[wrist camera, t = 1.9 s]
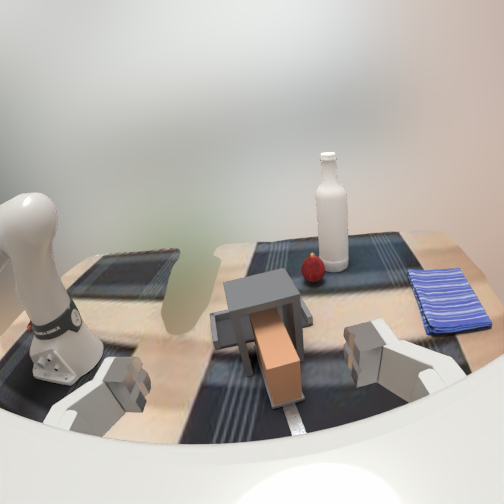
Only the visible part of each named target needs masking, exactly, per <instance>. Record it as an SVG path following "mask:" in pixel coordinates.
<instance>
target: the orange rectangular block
mask: <svg viewBox="0 0 504 504" xmlns="http://www.w3.org/2000/svg"><path fill="white" fill-rule="evenodd" d="M249 317H250V322H251V326H252V331H253V335H254V340H255V345H256V346H254V349H255V352H256V356H257V359H258V362H259V366H260V369H261V372H262V376H263V379H264V383H265V386H266V389H267V392H268V396H269V399H270V402H271V406H272V409H275V408H279V407H282V406H286V405H289V404H293V403H296V402H299V401H303V400H305V398H304V395H303V393H302V387H301V368H300V359H299V357H298V355H297V353H296V350H295V348H294V346H293V344H292V341H291V339H290V337H289V335H288V333H287V330H286V328H285V326H284V324H283V321H282V319H281V317H280V315H279V313H278V310H277V308H276V307H274V308H270V309H266V310H262V311H258V312H254V313H250V314H249Z"/></svg>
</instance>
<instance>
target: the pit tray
mask: <svg viewBox="0 0 504 504" xmlns="http://www.w3.org/2000/svg"><path fill="white" fill-rule="evenodd" d="M300 301H301V315H302V328H304V327H308V326H311V325H313V319H312V315H311V313H310V311H309V310H308V308H307V306H306V305H305V303H304V301H303V300H302V298H301V296H300ZM276 308H277V310H278V313H279V315H280V317H281V319H282V321H283V324H284V320H283V312H282V305H281V306H278V307H276ZM239 319H240V323H241V327H242V331H243V335H244V339H245V343H248V342H252V341H255V340H254V335H253V331H252V326H251V322H250V317H249V314H246V315H241V316H239ZM210 321H211V330H212V338H213V343H214V346H215V349H216V350H217V349H222V348H227V347H231V346H236V345H238V343H237V340H236V336H235V332H234V329H233V325H232V321H231V318H230V314H229V310H224V311H220V312H215V313H211V314H210Z"/></svg>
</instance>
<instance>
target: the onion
mask: <svg viewBox="0 0 504 504" xmlns="http://www.w3.org/2000/svg"><path fill="white" fill-rule="evenodd" d="M301 271H302V274H303V276H304V278H305V279H306V280H308V281H310V282H317V281H319V280H320V279H321V278H322V277H323V275H324V273H325V265H324V263H323V261H322V260H321V259H320V258H318V257H316V256H315V254H314V253H311V254H310V257H308V258H307V259H306V260H305V261H304V262H303V264H302V268H301Z"/></svg>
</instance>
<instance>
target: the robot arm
mask: <svg viewBox="0 0 504 504" xmlns="http://www.w3.org/2000/svg"><path fill="white" fill-rule="evenodd" d="M57 226H58V216H57V211H56V208H55V206H54V204H53V202H52V201H51V200H50V198H49V197H47V196H46V195H44V194H42V193H24V194H20V195H18V196H16V197H14V198H12V199H10V200H9V201H7V202H5V203H3V204H1V205H0V272H1V271H2V269H3V267H4V266H5V265H6V264H7V262H9V261H10V260H11V263H12V266H13V270H14V274H15V279H16V288H15V290H16V294H17V296H18V298H19V300H20V302H21V304H22V305H23V308H24V309H25V311H26V313H27V315H28V316H29V318H30V323H29V324H28V326H27V328H28V327H29V325H30V327H29V331H30V329H31V328H33V332H34V338H33V341H32V344H31V347H30V357H31V359H32V361H33V362H34V367H33V376H34V377H35V378H36V379H40V380H44V381H49V382H54V383H58V384H63V385H69V386H70V385H73V384H74V383H75V382H76V381H77V380H78V379H79V378H80V377H81V376H83V375H84V374H86V373H87V372H89V371H90V370H91V369H93V368H94V367H95V366H96V364H97V363H98V362H99V360H100V359H101V357H102V354H103V343H102V341H101V340H100V339H98V338H97V337H96V336H95V335H94V334H93V333H92V331H91V330H90V329H89V328H88V327H87V325H86V324H85V323H84V321H83V320H82V318H81V316H80V313H79V311H78V309H77V307H76V305H75V304H74V302H73V300H72V298H71V297H70V296H68V294H67V292H66V290H65V288H64V286H63V284H62V281H61V279H60V277H59V275H58V272H57V269H56V266H55V262H54V256H53V239H54V236H55V234H56V231H57ZM344 338H345V340H346V343H345V344H344V357H345V361H346V364H347V366H348V368H350V369H352V378H353V380H354V382H355V384H356V386H357V387H360V386H364V385H367V384H371V383H375V382H378V383H379V384H381V385H382V386H384V387H385V388H387V389H388V390H390V391H392V392H393V393H395V394H396V395H398V396H399V397H401V398H403V399H404V400H406V401H407V402H409V403H408V404H406V405H403V406H401V407H398V408H395V409H393V410H390V411H387V412H384V413H381V414H378V415H375V416H372V417H369V418H366V419H363V420H359V421H356V422H352V423H349V424H345V425H341V426H337V427H333V428H329V429H325V430H321V431H316V432H311V433H306V434H301V435H295V436H290V437H283V438H277V439H270V440H262V441H253V442H242V443H228V444H201V445H185V444H159V443H145V442H135V441H126V440H118V439H111V438H105V437H102V436H103V435H104V434H105V433H106V432H107V431H108V430H109V429H110V428H111V427H112V426H113V425H114V424H115V423H116V422H117V421H118V420H119V419H120V418H121V417H122V416H123V415H124V414H125V412H143V410H144V407H145V404H146V399H145V396H146V395H147V394H149V392H150V389H151V381H150V378H149V375H148V373H147V372H146V371H145V370H143V369H142V365H143V364H142V362H141V360H140V358H138V357H107V358H105V360H104V361H103V363H102V365H101V366H100V368H99V370H98V372H97V373H96V375H95V377H94V379H93V380H92V381H89V382H87V383H86V384H84V385H83V386H81V387H80V388H78V389H77V390H75V391H74V392H72V393H71V394H69V395H68V396H66V397H65V398H63V399H62V400H60V401H59V402H57V403H56V404H54V405H53V406H52V408H51V409H50V411H49V413H48V415H47V416H46V418H45V420H44V422H43V423H40V422H37V421H34V420H31V419H28V418H25V417H22V416H19V415H16V414H14V413H11V412H9V411H6V410H4V409H1V408H0V504H504V354H502V355H501V356H499V357H498V358H496V359H495V360H493V361H492V362H490V363H488V364H487V365H485V366H483V367H482V368H480V369H478V370H477V371H475V372H473V373H471V374H470V375H468V376H466V374H465V373H464V372H463V371H462V369H461V368H460V367H459V366H458V365H457V363H456V362H455V361H454V360H453V359H452V358H451V357H449V356H446V355H443V354H440V353H437V352H434V351H432V350H429V349H426V348H423V347H421V346H418V345H415V344H412V343H410V342H407V341H404V340H401V341H399V340H398V338H397V337H396V336H395V334H394V333H393V332H392V330H391V329H390V328H389V327H388V325H387V324H386V323H385V321H384V320H383V319H382V318H378V319H375V320H372V321H369V322H366V323H362V324H358V325H354V326H350V327H346V328H345V329H344Z"/></svg>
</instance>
